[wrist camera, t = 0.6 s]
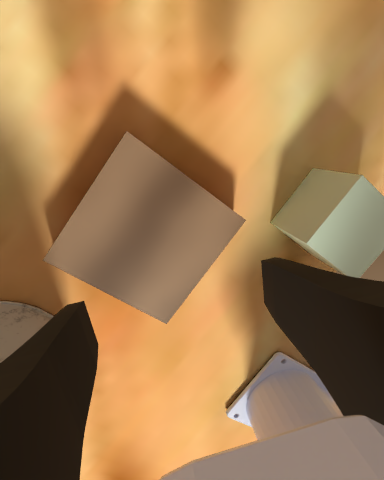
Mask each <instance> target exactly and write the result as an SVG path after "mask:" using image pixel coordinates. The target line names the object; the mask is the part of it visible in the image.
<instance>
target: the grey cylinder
mask: <svg viewBox="0 0 384 480" xmlns="http://www.w3.org/2000/svg"><path fill="white" fill-rule="evenodd" d="M53 317H54V316H53V315H51V314H49V313H47V312H46V311H44V310H42V309H40V308H38V307H34V306H31V305H28V304H25V303H19V302H11V301H0V363H1V362H2V361H4V360H5V359H6V358H7V357H9V356H10V355H11V354H12V353H13V352H15V351H16V350H17V349H18V348H19V347H20V346H22V345H23V344H24V343H25V342H26V341H27V340H29V339H30V338H31V337H32V336H33V335H34V334H35V333H37V332H38V331H39V330H40V329H41V328H42V327H43V326H44V325H45V324H46V323H47V322H48V321H49V320H51V319H52V318H53Z"/></svg>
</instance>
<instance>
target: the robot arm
mask: <svg viewBox="0 0 384 480" xmlns="http://www.w3.org/2000/svg"><path fill="white" fill-rule="evenodd" d="M261 264H262V277H263V290H264V303H265V305H266V307H267V308H268V310H269V312H270V314H271V315H272V317H273V318H274V320H275V322H276V323H277V324H278V326H279V327H280V328H281V329H282V331H283V332H284V333H285V334H286V336H287V337H288V338H289V339H290V341H291V342H292V343H293V344H294V346H295V347H296V348H297V349H298V351H299V352H300V353H301V354H302V355H303V357H304V358H305V359H306V360H307V362H308V363H309V364H310V365H311V367H312V368H313V370H314V371H313V370H312V369H310V368H308V367H306V366H305V365H303V364H301V363H299V362H298V361H296V360H294V359H292V358H290V357H289V356H287V355H285V354H283V353H282V352H277V353H275V354H274V356H273V357H272V358H271V359H270V360H269V361H268V363H267V364H266V365H265V366H264V367H263V368H262V369H261V371H260V372H259V373H258V374H257V375H256V376H255V378H254V379H253V380H252V381H251V382H250V383H249V385H248V386H247V387H246V388H245V389H244V390H243V392H242V393H241V394H240V395H239V396H238V397H237V399H236V400H235V401H234V402H233V403H232V404H231V406H230V407H229V408H228V409H227V411H226V413H227V416H228V417H229V418H231V419H234V420H236V421H239V422H241V423H243V424H246V425H248V426H251V427H252V428H253V430H254V432H255V435H256V437H257V441H254V442H251V443H248V444H244V445H241V446H238V447H235V448H232V449H228V450H225V451H222V452H219V453H216V454H212V455H209V456H206V457H203V458H200V459H196V460H193V461H191V462H189V463H187V464H185V465H183V466H181V467H179V468H177V469H175V470H173V471H171V472H169V473H168V474H166V475H164V476H162V477H161V479H160V480H384V282H382V281H374V280H368V279H362V278H356V277H351V276H346V275H341V274H337V273H333V272H329V271H325V270H321V269H317V268H314V267H310V266H307V265H303V264H300V263H296V262H293V261H289V260H286V259H281V258H271V259H266V260H262V261H261ZM97 359H98V342H97V339H96V336H95V333H94V330H93V327H92V324H91V321H90V318H89V315H88V312H87V309H86V306H85V303H84V301H82V302H78V303H73V304H69V305H67V306H65V307H64V308H63V309H62V310H60V311H59V312H58V313H57V314H56V315H55V316H54V317H53V318H52V319H51V320H49V321H48V322H47V323H46V324H45V325H44V326H43V327H42V328H41V329H40V330H39V331H38V332H37V333H35V334H34V335H33V336H32V337H31V338H30V339H29V340H27V341H26V342H25V343H24V344H23V345H22V346H20V347H19V348H18V349H17V350H16V351H15V352H13V353H12V354H11V355H10V356H9V357H7V358H6V359H5V360H4V361H2V362H1V363H0V480H80V468H81V457H82V447H83V438H84V432H85V426H86V421H87V416H88V411H89V406H90V401H91V396H92V391H93V386H94V381H95V376H96V370H97ZM283 359H284V360H283Z"/></svg>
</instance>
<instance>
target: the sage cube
mask: <svg viewBox="0 0 384 480" xmlns="http://www.w3.org/2000/svg"><path fill="white" fill-rule="evenodd" d="M270 223H271V224H273V225H274V226H275V227H277V228H278V229H279V230H280V231H282V232H283V233H284V234H286V235H287V236H288V237H290V238H291V239H292V240H293V241H295V242H296V243H297V244H299V245H300V246H301V247H302V248H304V249H305V250H306V251H308V252H309V253H310V254H311V255H313V256H314V257H316V258H318V259H319V260H321V261H322V262H324V263H326V264H327V265H329V266H330V267H332V268H334V269H335V270H337V271H338V272H340V273H342V274H343V275H346V276H351V277H356V278H360V277H361V276H362V274H363V273H364V272H365V271H366V270H367V269H368V267H369V266H370V265H371V264H372V263H373V262H374V261H375V259H376V258H377V257H378V256H379V255H380V254H381V253H382V251H383V250H384V196H383V195H382V194H381V193H380V192H379V191H378V190H377V189H376V188H375V187H374V186H373V185H372V184H371V183H370V182H369V181H368V180H367V179H366V178H365V177H364V176H363V175H359V174H352V173H344V172H337V171H330V170H323V169H316V168H313V169H312V170H311V171H310V172H309V174H308V175H307V176H306V178H305V179H304V180H303V181H302V183H301V184H300V185H299V186H298V188H297V189H296V190H295V192H294V193H293V194H292V195H291V197H290V198H289V199H288V201H287V202H286V203H285V204H284V206H283V207H282V208H281V209H280V211H279V212H278V213H277V215H276V216H275V217H274V218H273V220H272V221H271V222H270Z"/></svg>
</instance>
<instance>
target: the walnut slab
mask: <svg viewBox="0 0 384 480" xmlns="http://www.w3.org/2000/svg"><path fill="white" fill-rule="evenodd" d="M245 221H246V220H245V219H244V218H242V217H241V216H240V215H238V214H237V213H236V212H234V211H233V210H232V209H230V208H229V207H228V206H226V205H225V204H224V203H222V202H221V201H220V200H218V199H217V198H216V197H214V196H213V195H212V194H210V193H209V192H208V191H206V190H205V189H204V188H202V187H201V186H200V185H198V184H197V183H196V182H194V181H193V180H192V179H190V178H189V177H188V176H186V175H185V174H184V173H182V172H181V171H180V170H178V169H177V168H176V167H174V166H173V165H172V164H170V163H169V162H168V161H166V160H165V159H164V158H162V157H161V156H160V155H158V154H157V153H156V152H154V151H153V150H152V149H150V148H149V147H148V146H146V145H145V144H144V143H142V142H141V141H139V140H138V139H137V138H135V137H134V136H133V135H131V134H130V133H129V132H127V131H126V133H125V134H124V136H123V138H122V139H121V141H120V142H119V144H118V145H117V147H116V148H115V150H114V151H113V153H112V154H111V156H110V158H109V159H108V161H107V162H106V164H105V165H104V167H103V168H102V170H101V171H100V173H99V174H98V176H97V178H96V179H95V181H94V182H93V184H92V185H91V187H90V188H89V190H88V191H87V193H86V194H85V196H84V198H83V199H82V201H81V202H80V204H79V205H78V207H77V208H76V210H75V211H74V213H73V214H72V216H71V218H70V219H69V221H68V222H67V224H66V225H65V227H64V228H63V230H62V231H61V233H60V234H59V236H58V238H57V239H56V241H55V242H54V244H53V245H52V247H51V248H50V250H49V251H48V253H47V254H46V256H45V258H44V259H43V261H45V262H47V263H49V264H51V265H53V266H55V267H57V268H59V269H61V270H63V271H64V272H66V273H68V274H70V275H72V276H74V277H76V278H78V279H80V280H82V281H84V282H86V283H88V284H90V285H92V286H94V287H96V288H98V289H100V290H101V291H103V292H105V293H107V294H109V295H111V296H113V297H115V298H117V299H119V300H121V301H123V302H125V303H127V304H129V305H131V306H133V307H135V308H136V309H138V310H140V311H142V312H144V313H146V314H148V315H150V316H152V317H154V318H156V319H158V320H160V321H162V322H164V323H166V324H167V323H168V322H169V320H170V319H171V318H172V316H173V315H174V314H175V312H176V311H177V310H178V308H179V307H180V306H181V305H182V303H183V302H184V301H185V299H186V298H187V297H188V295H189V294H190V293H191V291H192V290H193V289H194V288H195V286H196V285H197V284H198V282H199V281H200V280H201V278H202V277H203V276H204V274H205V273H206V272H207V271H208V269H209V268H210V267H211V265H212V264H213V263H214V261H215V260H216V259H217V257H218V256H219V255H220V254H221V252H222V251H223V250H224V248H225V247H226V246H227V244H228V243H229V242H230V241H231V239H232V238H233V237H234V235H235V234H236V233H237V231H238V230H239V229H240V227H241V226H242V225H243V224H244V222H245Z"/></svg>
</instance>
